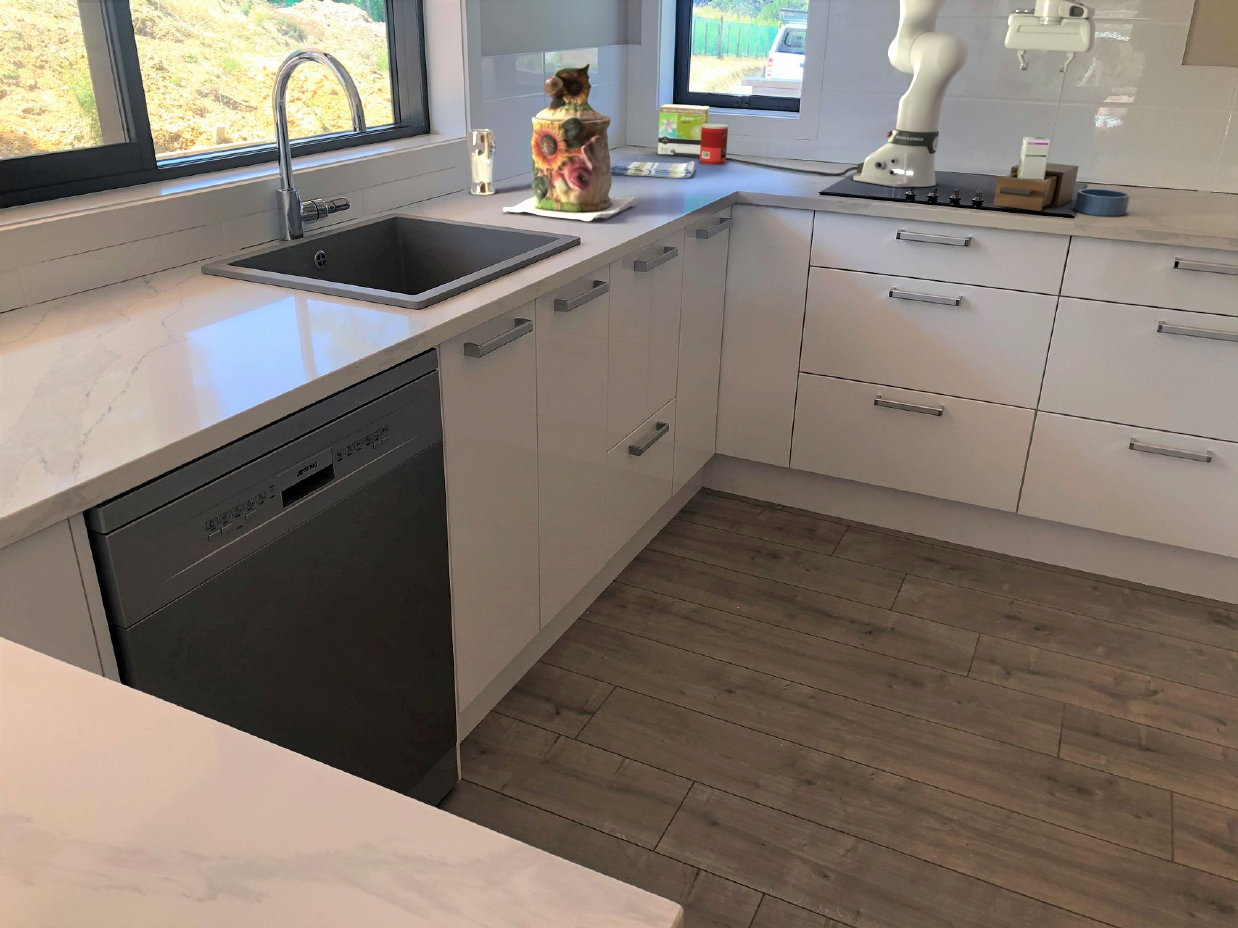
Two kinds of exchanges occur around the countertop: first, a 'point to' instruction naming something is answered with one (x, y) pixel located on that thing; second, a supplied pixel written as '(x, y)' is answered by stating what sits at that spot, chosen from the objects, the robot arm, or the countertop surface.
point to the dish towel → (654, 169)
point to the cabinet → (1060, 182)
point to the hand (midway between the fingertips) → (1043, 71)
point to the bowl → (1102, 202)
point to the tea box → (681, 128)
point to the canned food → (713, 143)
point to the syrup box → (1033, 158)
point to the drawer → (1025, 192)
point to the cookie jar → (571, 154)
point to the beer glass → (482, 160)
